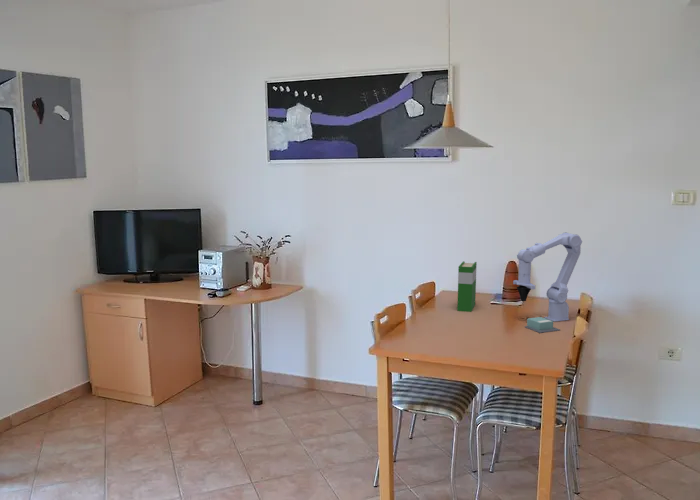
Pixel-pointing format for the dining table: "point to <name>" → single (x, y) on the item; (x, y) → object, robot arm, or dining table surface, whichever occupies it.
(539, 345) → the dining table surface
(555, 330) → the mat
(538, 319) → the slab
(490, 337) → the dining table surface
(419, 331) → the dining table surface
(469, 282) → the hardback book
